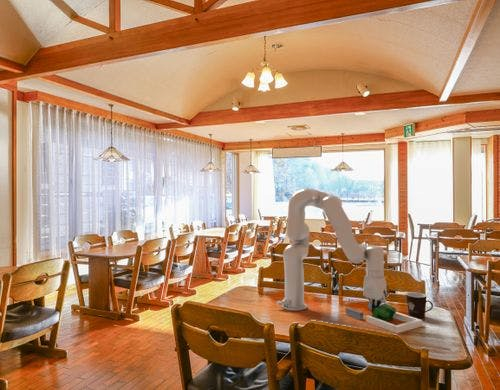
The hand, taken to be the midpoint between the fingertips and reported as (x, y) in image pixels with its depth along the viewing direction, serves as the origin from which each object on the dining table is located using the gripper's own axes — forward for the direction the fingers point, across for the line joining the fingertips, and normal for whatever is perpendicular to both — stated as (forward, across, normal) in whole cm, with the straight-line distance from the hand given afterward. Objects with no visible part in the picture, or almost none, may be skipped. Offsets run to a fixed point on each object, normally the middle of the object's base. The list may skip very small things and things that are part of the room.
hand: (375, 313), depth 166 cm
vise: (+2, -5, +3) cm, 6 cm away
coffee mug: (+2, +11, +16) cm, 19 cm away
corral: (+2, +10, 0) cm, 10 cm away
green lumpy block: (+2, +5, 0) cm, 5 cm away
